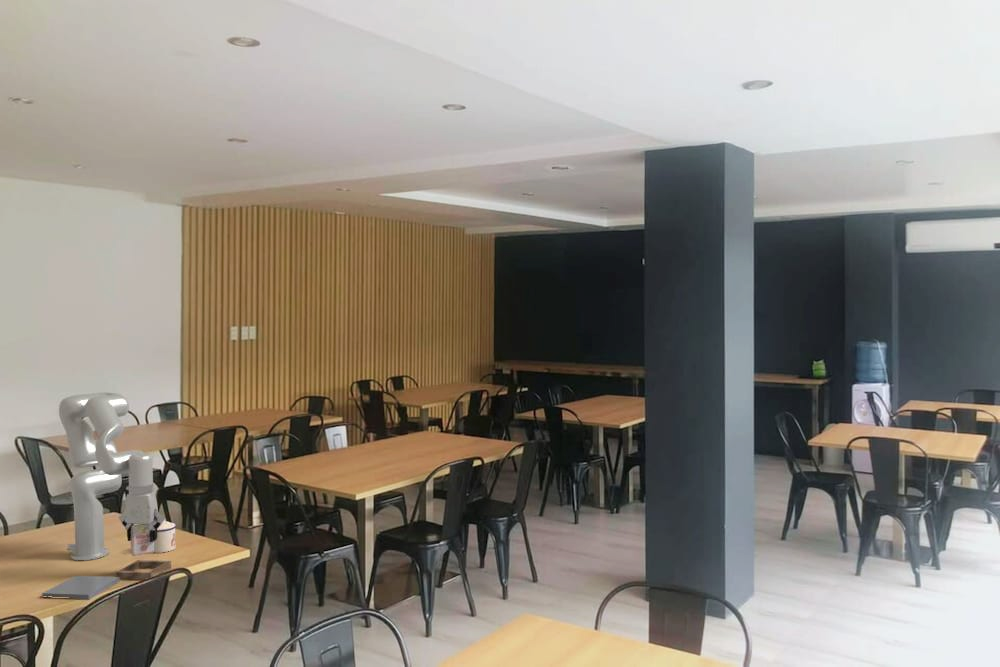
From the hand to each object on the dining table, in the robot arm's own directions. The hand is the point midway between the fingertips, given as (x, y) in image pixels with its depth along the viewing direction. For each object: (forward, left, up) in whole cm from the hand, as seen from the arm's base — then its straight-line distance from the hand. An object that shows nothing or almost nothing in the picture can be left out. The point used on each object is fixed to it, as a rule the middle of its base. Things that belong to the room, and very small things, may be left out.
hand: (142, 540), depth 271 cm
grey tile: (-11, -16, -12) cm, 23 cm away
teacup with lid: (-8, +27, -12) cm, 30 cm away
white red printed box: (0, 0, -5) cm, 5 cm away
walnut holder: (+1, 0, -12) cm, 12 cm away
